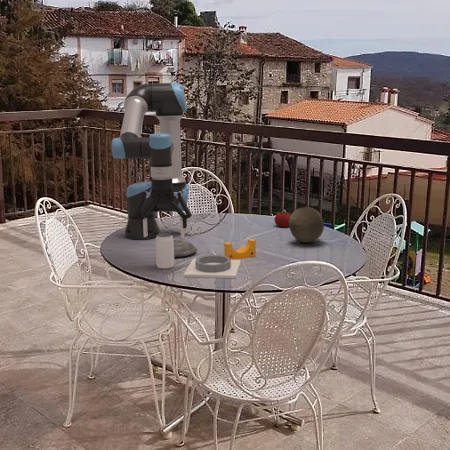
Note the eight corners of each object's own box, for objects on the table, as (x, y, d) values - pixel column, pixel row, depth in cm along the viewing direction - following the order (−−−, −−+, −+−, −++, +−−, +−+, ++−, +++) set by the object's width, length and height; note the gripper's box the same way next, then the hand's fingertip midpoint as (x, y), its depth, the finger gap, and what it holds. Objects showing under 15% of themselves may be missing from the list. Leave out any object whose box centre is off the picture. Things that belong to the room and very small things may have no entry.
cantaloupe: (290, 238, 249) (290, 203, 246) (324, 239, 246) (325, 204, 243) (287, 247, 236) (287, 210, 232) (322, 248, 233) (323, 211, 229)
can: (171, 269, 210) (170, 237, 207) (154, 268, 212) (152, 236, 209) (176, 264, 217) (175, 232, 214) (159, 263, 218) (158, 232, 215)
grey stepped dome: (162, 261, 221) (161, 247, 220) (155, 250, 236) (155, 237, 234) (200, 257, 225) (200, 243, 224) (192, 246, 239) (192, 233, 238)
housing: (183, 277, 202) (183, 267, 202) (193, 261, 220) (192, 252, 219) (235, 278, 200) (235, 268, 199) (241, 262, 217) (240, 253, 217)
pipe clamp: (250, 253, 229) (250, 237, 227) (255, 256, 225) (255, 240, 223) (222, 258, 224) (222, 241, 222) (227, 261, 220) (227, 244, 218)
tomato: (271, 226, 268) (271, 211, 267) (280, 223, 275) (280, 208, 273) (287, 229, 264) (287, 213, 262) (295, 225, 270) (295, 210, 269)
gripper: (124, 179, 204) (127, 238, 209) (194, 179, 201) (196, 239, 206) (130, 176, 211) (133, 233, 216) (198, 176, 208) (200, 234, 213)
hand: (164, 236), depth 211 cm, fingers open, 13 cm apart
